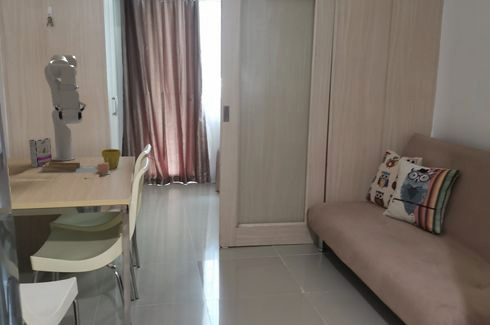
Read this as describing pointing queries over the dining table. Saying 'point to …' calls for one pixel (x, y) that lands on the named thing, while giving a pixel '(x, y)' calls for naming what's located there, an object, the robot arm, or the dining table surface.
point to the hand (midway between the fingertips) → (70, 119)
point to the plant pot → (111, 157)
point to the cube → (103, 167)
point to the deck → (77, 170)
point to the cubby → (60, 167)
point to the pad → (106, 173)
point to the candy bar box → (40, 152)
